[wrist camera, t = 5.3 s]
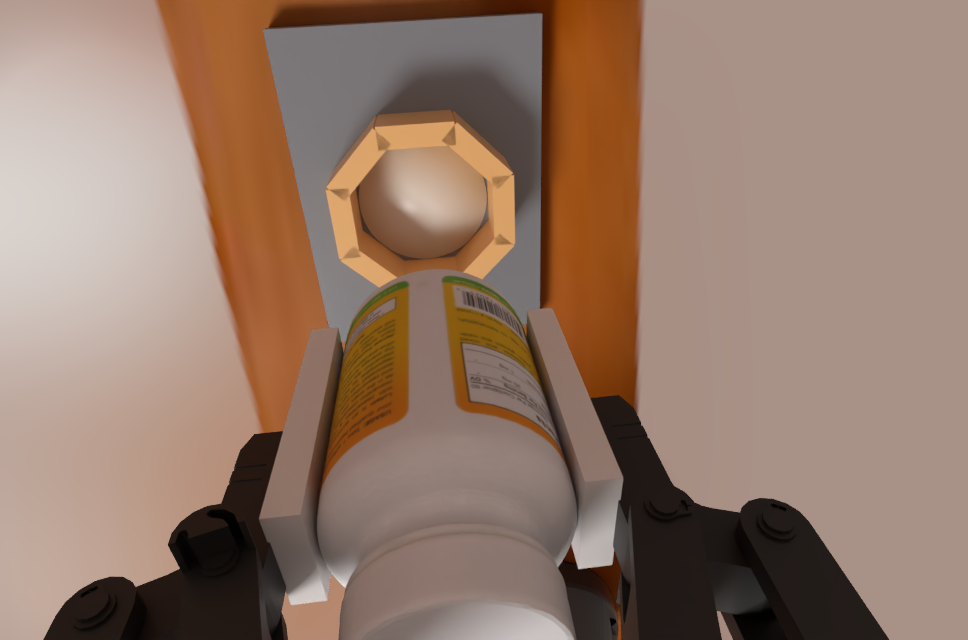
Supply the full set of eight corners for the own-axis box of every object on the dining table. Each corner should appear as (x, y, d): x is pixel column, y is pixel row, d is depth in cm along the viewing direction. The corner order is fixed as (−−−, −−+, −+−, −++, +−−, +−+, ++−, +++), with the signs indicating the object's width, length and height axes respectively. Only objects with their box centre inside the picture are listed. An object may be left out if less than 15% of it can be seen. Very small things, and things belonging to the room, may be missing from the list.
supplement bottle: (364, 419, 19) (328, 769, 11) (330, 274, 16) (243, 600, 8) (525, 399, 19) (612, 724, 11) (520, 253, 16) (633, 545, 8)
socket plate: (536, 314, 34) (548, 346, 31) (334, 333, 33) (327, 369, 30) (538, 12, 26) (554, 16, 23) (267, 27, 25) (248, 34, 22)
